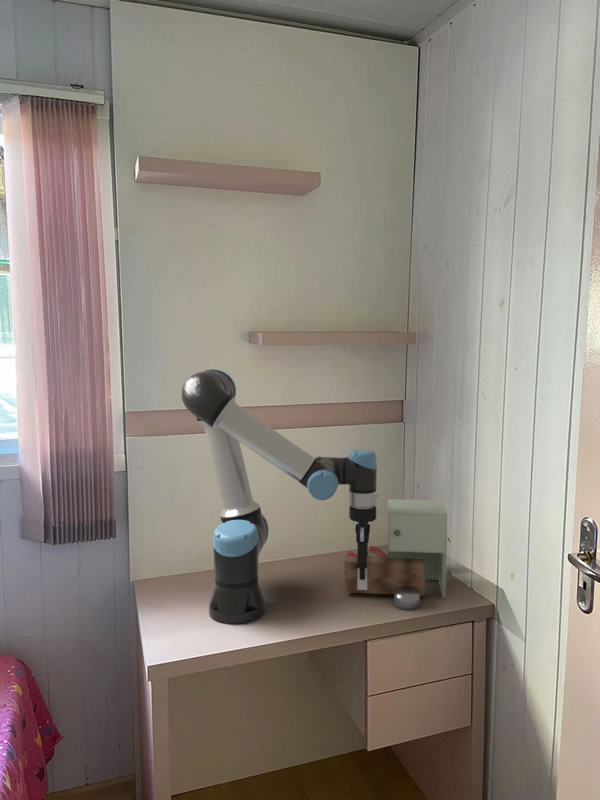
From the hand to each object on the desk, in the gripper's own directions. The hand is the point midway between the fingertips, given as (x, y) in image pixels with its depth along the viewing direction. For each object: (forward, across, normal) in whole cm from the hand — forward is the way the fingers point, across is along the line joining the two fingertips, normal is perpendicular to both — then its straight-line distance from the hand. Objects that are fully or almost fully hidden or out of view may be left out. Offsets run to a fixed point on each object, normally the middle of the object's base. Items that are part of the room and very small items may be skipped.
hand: (362, 585), depth 183 cm
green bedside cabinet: (+3, +7, -15) cm, 17 cm away
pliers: (+3, +25, -2) cm, 26 cm away
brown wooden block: (+1, 0, -6) cm, 6 cm away
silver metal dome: (+3, -6, -12) cm, 14 cm away
